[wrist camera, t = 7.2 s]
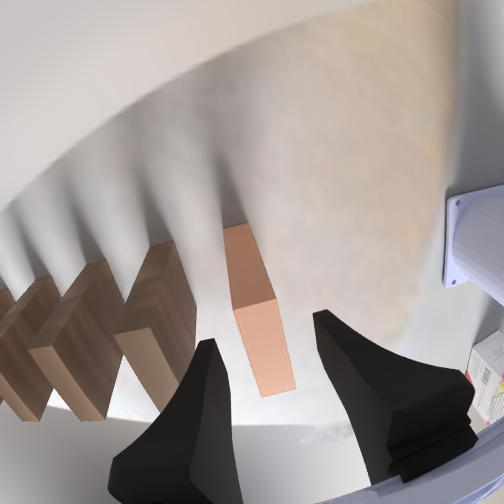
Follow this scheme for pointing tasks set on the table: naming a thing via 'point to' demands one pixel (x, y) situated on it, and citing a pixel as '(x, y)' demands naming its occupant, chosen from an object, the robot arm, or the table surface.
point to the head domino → (257, 312)
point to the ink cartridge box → (488, 377)
